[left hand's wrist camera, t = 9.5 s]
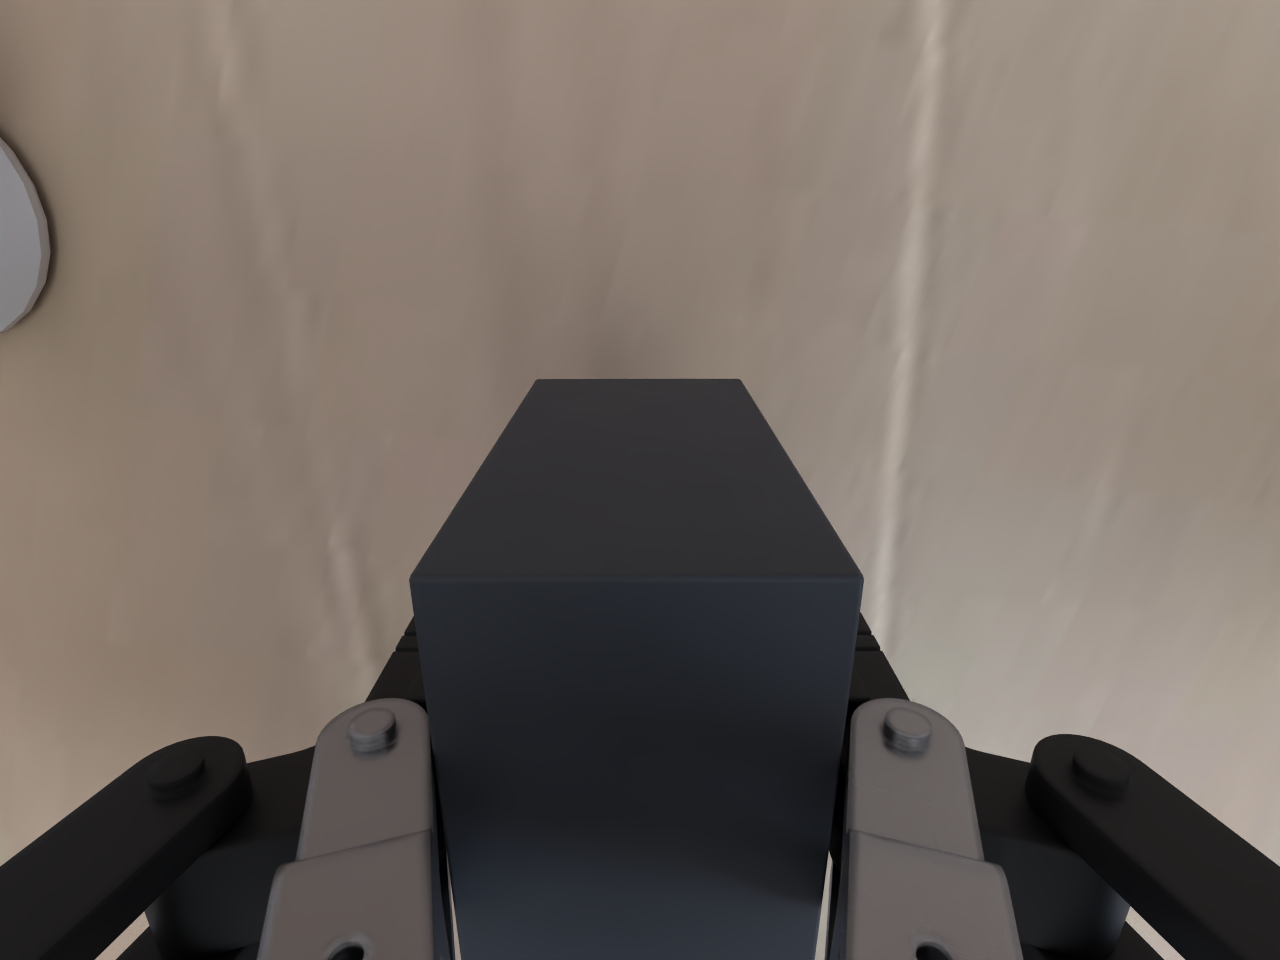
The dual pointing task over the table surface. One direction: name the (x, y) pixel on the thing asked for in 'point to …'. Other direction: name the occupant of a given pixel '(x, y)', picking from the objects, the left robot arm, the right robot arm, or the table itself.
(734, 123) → the table surface
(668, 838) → the bar
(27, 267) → the mug
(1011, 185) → the table surface
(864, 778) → the left robot arm
